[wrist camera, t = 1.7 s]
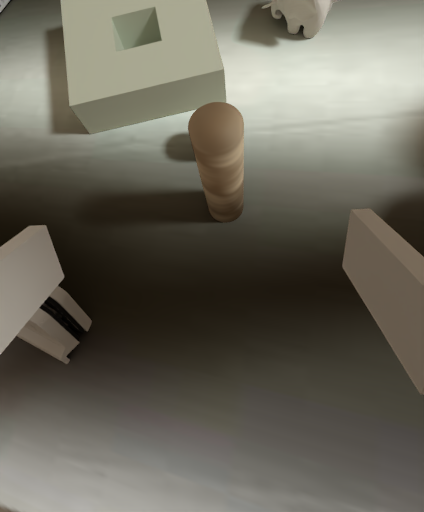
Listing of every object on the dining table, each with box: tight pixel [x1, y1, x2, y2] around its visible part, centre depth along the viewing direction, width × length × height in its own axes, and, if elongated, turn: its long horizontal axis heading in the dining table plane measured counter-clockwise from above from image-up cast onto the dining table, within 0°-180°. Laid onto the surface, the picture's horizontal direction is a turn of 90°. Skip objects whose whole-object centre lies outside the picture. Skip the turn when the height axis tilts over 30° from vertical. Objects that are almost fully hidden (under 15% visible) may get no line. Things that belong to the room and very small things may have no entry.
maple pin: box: [188, 102, 244, 222], centre depth 29 cm, size 4×4×14 cm
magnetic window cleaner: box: [16, 286, 92, 364], centre depth 31 cm, size 17×5×10 cm, turn 65°
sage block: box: [61, 0, 226, 134], centre depth 40 cm, size 18×18×5 cm
